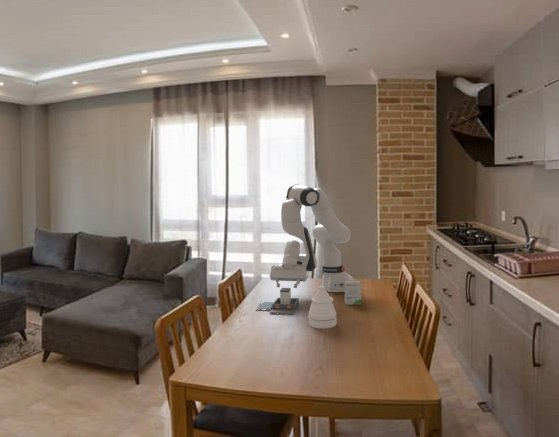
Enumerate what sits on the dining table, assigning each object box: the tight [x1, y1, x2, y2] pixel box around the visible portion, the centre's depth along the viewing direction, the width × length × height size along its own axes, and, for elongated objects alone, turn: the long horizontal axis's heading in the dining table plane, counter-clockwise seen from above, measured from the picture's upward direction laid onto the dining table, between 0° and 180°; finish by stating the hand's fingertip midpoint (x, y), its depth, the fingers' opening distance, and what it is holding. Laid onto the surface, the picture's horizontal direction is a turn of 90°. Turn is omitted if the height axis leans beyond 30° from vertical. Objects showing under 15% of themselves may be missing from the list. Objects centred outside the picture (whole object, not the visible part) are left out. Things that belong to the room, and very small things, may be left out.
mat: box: [256, 301, 274, 311], centre depth 224 cm, size 8×12×1 cm, turn 167°
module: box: [279, 287, 292, 304], centre depth 221 cm, size 5×5×10 cm
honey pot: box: [308, 285, 338, 329], centre depth 195 cm, size 13×13×18 cm
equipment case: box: [269, 297, 300, 316], centre depth 219 cm, size 12×17×4 cm
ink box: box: [344, 280, 362, 306], centre depth 225 cm, size 9×5×12 cm, turn 84°
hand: (286, 287), depth 225 cm, fingers open, 8 cm apart
